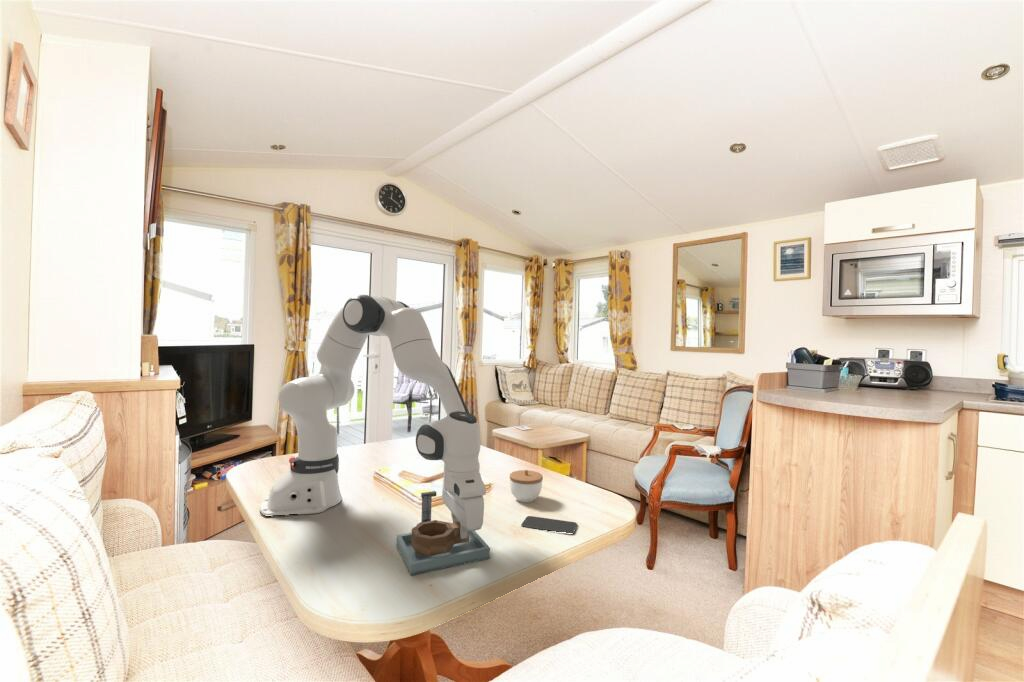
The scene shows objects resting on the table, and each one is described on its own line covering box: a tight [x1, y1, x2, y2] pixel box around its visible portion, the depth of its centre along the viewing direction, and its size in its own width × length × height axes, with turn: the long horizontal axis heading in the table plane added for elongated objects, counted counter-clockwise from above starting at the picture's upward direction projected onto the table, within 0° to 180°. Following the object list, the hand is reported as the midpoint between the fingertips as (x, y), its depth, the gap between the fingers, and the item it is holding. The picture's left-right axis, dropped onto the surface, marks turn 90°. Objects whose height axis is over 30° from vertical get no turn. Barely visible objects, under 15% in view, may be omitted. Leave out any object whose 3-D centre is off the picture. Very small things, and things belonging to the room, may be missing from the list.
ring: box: [411, 519, 469, 556], centre depth 110 cm, size 14×9×4 cm
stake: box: [416, 490, 437, 526], centre depth 123 cm, size 5×5×10 cm
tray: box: [395, 530, 491, 576], centre depth 110 cm, size 19×15×2 cm
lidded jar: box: [509, 469, 544, 503], centre depth 145 cm, size 11×11×9 cm
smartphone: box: [520, 515, 578, 533], centre depth 126 cm, size 7×1×15 cm
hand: (460, 533), depth 112 cm, fingers closed on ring, 3 cm apart
